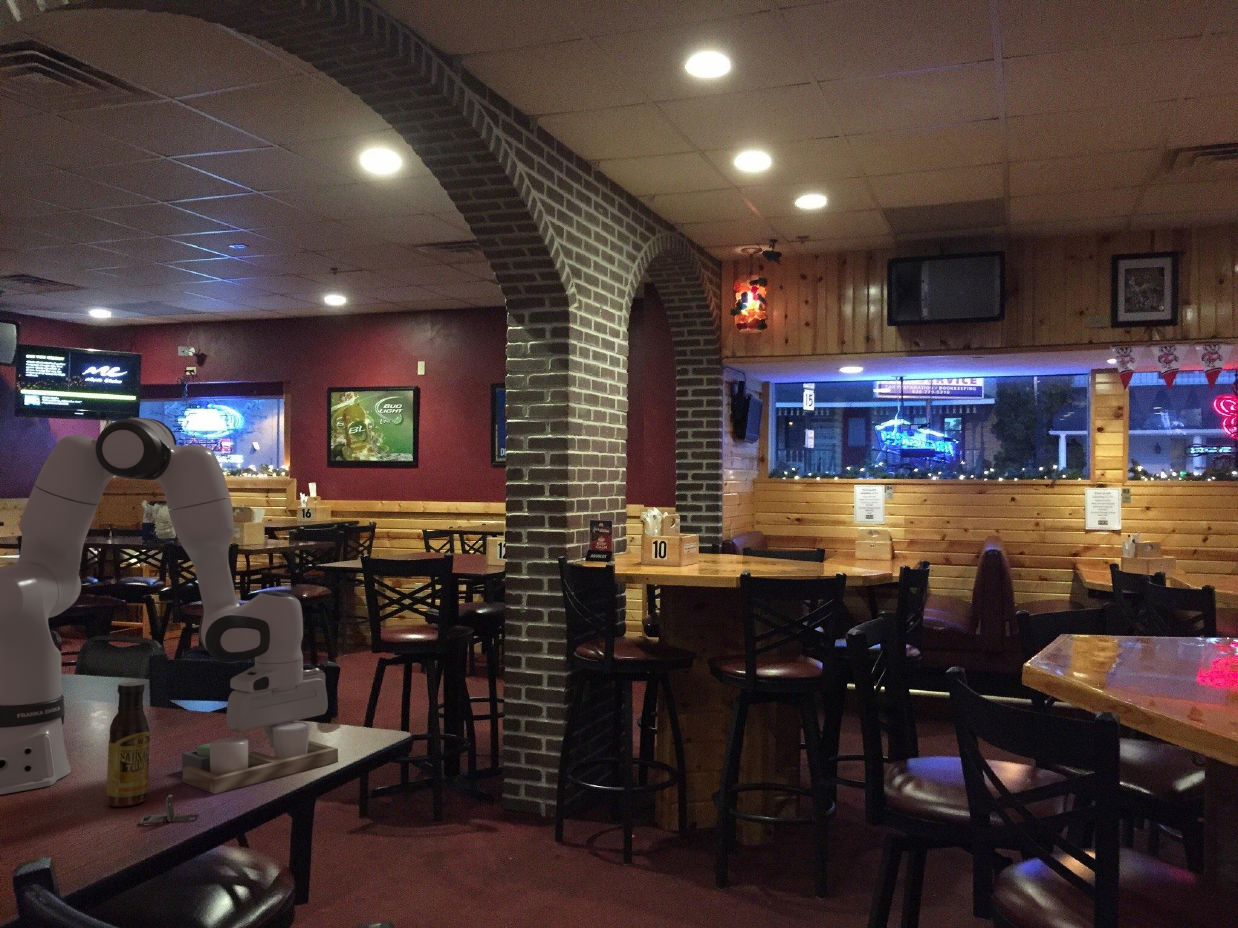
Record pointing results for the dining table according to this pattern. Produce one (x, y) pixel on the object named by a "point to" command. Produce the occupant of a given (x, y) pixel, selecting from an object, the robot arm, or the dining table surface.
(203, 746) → the button
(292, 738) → the white tapered cup
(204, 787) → the frame
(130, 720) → the sauce bottle
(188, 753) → the button box
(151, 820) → the strap clip
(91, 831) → the dining table surface
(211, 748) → the white cylinder puck
